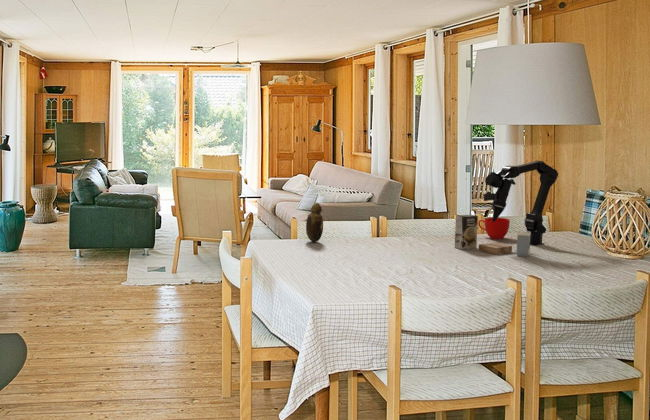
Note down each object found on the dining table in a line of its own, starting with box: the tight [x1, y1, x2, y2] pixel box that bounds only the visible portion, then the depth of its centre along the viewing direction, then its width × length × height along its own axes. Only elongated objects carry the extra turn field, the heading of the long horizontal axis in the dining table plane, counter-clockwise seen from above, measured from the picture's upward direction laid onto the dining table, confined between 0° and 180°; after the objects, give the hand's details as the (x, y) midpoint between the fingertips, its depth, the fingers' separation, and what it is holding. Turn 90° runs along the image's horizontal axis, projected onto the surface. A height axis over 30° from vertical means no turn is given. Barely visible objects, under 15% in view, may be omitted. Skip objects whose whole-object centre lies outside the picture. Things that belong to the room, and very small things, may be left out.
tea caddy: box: [516, 230, 531, 258], centre depth 349 cm, size 5×5×11 cm
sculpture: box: [305, 202, 324, 243], centre depth 380 cm, size 13×8×20 cm, turn 5°
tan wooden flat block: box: [478, 242, 513, 255], centre depth 359 cm, size 11×11×3 cm
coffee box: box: [454, 214, 479, 250], centre depth 367 cm, size 9×6×16 cm
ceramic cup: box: [477, 217, 511, 240], centre depth 397 cm, size 13×17×10 cm
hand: (493, 221), depth 366 cm, fingers open, 9 cm apart
